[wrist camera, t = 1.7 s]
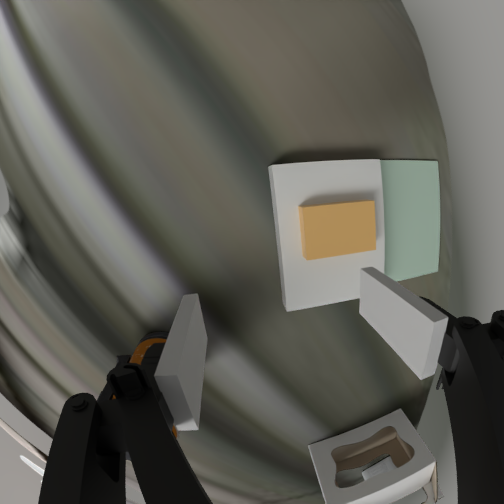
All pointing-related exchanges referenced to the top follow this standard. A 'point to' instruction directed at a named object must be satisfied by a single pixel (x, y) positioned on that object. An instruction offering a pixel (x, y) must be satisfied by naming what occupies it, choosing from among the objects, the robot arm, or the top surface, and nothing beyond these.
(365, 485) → the gable box
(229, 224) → the top surface
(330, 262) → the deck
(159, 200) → the top surface
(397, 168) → the mat
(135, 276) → the top surface
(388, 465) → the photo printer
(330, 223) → the light orange flat block
